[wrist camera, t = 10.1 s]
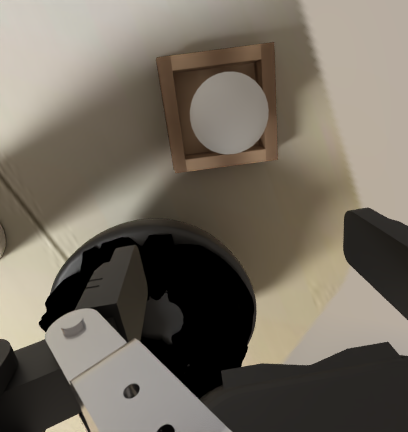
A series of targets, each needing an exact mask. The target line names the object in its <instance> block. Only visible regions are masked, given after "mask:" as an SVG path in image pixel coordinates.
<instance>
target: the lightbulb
mask: <svg viewBox="0 0 408 432" xmlns="http://www.w3.org/2000/svg"><path fill="white" fill-rule="evenodd" d="M268 112H269V109H268V102H267V99H266V96H265V94H264V92H263V90H262V89H261V87H260V86H259V85H258V84H257V83H256V81H254V80H253V79H252V78H250V77H249V76H247V75H245V74H242V73H239V72H222V73H219V74H216V75H214V76H212V77H210V78H208V79H207V80H206V81H205V82H203V83H202V84H201V86H200V87H199V88H198V89H197V91H196V93H195V94H194V96H193V99H192V102H191V107H190V121H191V126H192V129H193V131H194V133H195V136H196V137H197V138H198V140H199V141H200V142H201V143H202V144H203V145H204V146H205V147H206V148H208V149H210V150H211V151H214V152H216V153H220V154H236V153H240V152H243V151H245V150H247V149H249V148H250V147H251V146H253V145H254V144H255V143H256V142H257V141H258V140H259V139H260V137H261V136H262V134H263V132H264V130H265V128H266V125H267V121H268Z"/></svg>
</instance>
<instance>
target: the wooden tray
mask: <svg viewBox="0 0 408 432" xmlns="http://www.w3.org/2000/svg"><path fill="white" fill-rule="evenodd" d="M156 62H157V69H158V75H159V81H160V87H161V93H162V100H163V106H164V112H165V118H166V124H167V131H168V137H169V143H170V149H171V156H172V162H173V168H174V170H175V173H181V172H189V171H196V170H204V169H211V168H219V167H226V166H234V165H241V164H249V163H256V162H264V161H271V160H278V147H277V114H276V82H275V50H274V42H271V43H263V44H256V45H248V46H240V47H233V48H225V49H217V50H209V51H202V52H194V53H186V54H179V55H171V56H163V57H157V58H156ZM222 72H239V73H242V74H245V75H247V76H249V77H250V78H252V79H253V80H254V81H256V83H257V84H258V85H259V86H260V87H261V89H262V90H263V92H264V94H265V96H266V99H267V102H268V109H269V112H268V121H267V125H266V128H265V130H264V132H263V134H262V136H261V137H260V139H259V140H258V141H257V142H256V143H255V144H254V145H253V146H251V147H250V148H249V149H247V150H245V151H243V152H240V153H236V154H220V153H216V152H214V151H211V150H210V149H208V148H206V147H205V146H204V145H203V144H202V143H201V142H200V141H199V140H198V138H197V137H196V136H195V133H194V131H193V129H192V126H191V121H190V107H191V102H192V99H193V96H194V94H195V93H196V91H197V89H198V88H199V87H200V86H201V84H202V83H203V82H205V81H206V80H207V79H208V78H210V77H212V76H214V75H216V74H219V73H222Z"/></svg>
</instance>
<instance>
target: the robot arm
mask: <svg viewBox="0 0 408 432" xmlns="http://www.w3.org/2000/svg"><path fill="white" fill-rule="evenodd" d="M5 246H6V238H5V234H4V230H3V228H2V226H1V224H0V258H1V256H2V254H3V253H4V250H5ZM343 251H344V255H345V258H346V260H347V262H348V263H349V264H350V265H351V266H352V267H353V268H354V269H355V270H356V271H357V272H358V273H359V274H360V275H361V276H362V277H363V278H364V279H365V280H366V281H368V282H369V283H370V284H371V285H372V286H373V287H374V288H375V289H376V290H377V291H378V292H379V293H380V294H381V295H382V296H383V297H384V298H385V299H386V300H387V301H389V303H390V304H392V305H393V306H394V307H395V308H396V309H397V310H398V311H399V312H400V313H401V314H402V315H403V316H404V317H405V318H406V319H407V320H408V226H407V225H405V224H403V223H401V222H399V221H395V220H392V219H388V218H387V217H385V216H383V215H381V214H379V213H378V212H376V211H374V210H372V209H370V208H362V209H356V210H350V211H347V212H346V213H345V217H344V241H343ZM147 297H148V289H147V282H146V277H145V273H144V269H143V265H142V261H141V257H140V253H139V250H138V247H137V245H132V246H126V247H120V248H116V249H115V251H114V253H113V256H112V258H111V260H110V262H106V263H103V264H102V265H101V266H100V267H98V268H97V269H96V270H95V271H94V273H93V275H92V277H91V279H90V282H89V283H88V284H87V286H86V289H85V290H84V292H83V294H82V296H81V298H80V300H79V302H78V304H77V306H76V308H75V310H74V311H72V312H69V313H67V314H65V315H64V316H62V317H60V318H59V319H57V320H56V321H55V322H54V323H53V324H52V325H51V326H50V327H49V328H48V330H47V332H46V334H45V339H44V340H42V341H40V342H37V343H35V344H32V345H29V346H27V347H24V348H21V349H19V350H16V351H13V349H12V347H11V345H10V343H9V342H8V341H7V340H4V339H0V432H45V431H46V429H47V428H50V427H52V426H54V425H56V424H58V423H60V422H62V421H64V420H66V419H69V418H71V417H73V416H75V415H77V414H78V416H79V418H80V420H81V422H82V424H83V426H84V428H85V430H86V432H408V356H403V355H399V354H398V353H397V352H396V351H395V349H394V348H393V347H392V346H391V345H390V344H389V342H384V343H379V344H373V345H367V346H361V347H355V348H350V349H346V350H344V351H341V352H339V353H337V354H335V355H333V356H330V357H328V358H326V359H324V360H321V361H319V362H317V363H315V364H312V365H307V366H306V365H284V364H257V365H251V366H245V367H239V368H233V369H228V370H222V371H221V374H222V381H223V385H221V386H219V387H217V388H215V389H213V390H212V391H210V392H208V393H207V394H205V395H204V396H203V397H201V398H200V399H198V398H197V397H196V396H195V395H194V394H193V393H192V392H191V391H190V390H189V389H188V388H187V387H186V386H185V385H184V384H183V383H182V382H181V381H180V380H179V379H177V378H176V377H175V376H174V375H173V374H172V373H171V372H170V371H169V370H168V369H167V368H166V367H165V366H164V365H163V364H162V363H161V362H160V361H159V360H158V359H157V358H156V357H155V356H154V355H153V354H152V353H151V352H150V351H149V350H148V349H147V348H146V347H145V346H144V345H143V344H142V343H141V342H140V340H141V334H142V328H143V321H144V315H145V309H146V303H147Z"/></svg>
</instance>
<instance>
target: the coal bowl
mask: <svg viewBox="0 0 408 432" xmlns="http://www.w3.org/2000/svg"><path fill="white" fill-rule="evenodd" d="M132 245H137V247H138V250H139V253H140V257H141V261H142V265H143V269H144V273H145V277H146V282H147V289H148V297H147V303H146V309H145V315H144V321H143V328H142V334H141V340H140V342H141V343H142V344H143V345H144V346H145V347H146V348H147V349H148V350H149V351H150V352H151V353H152V354H153V355H154V356H155V357H156V358H157V359H158V360H159V361H160V362H161V363H162V364H163V365H164V366H165V367H166V368H167V369H168V370H169V371H170V372H171V373H172V374H173V375H174V376H175V377H176V378H177V379H179V380H180V381H181V382H182V383H183V384H184V385H185V386H186V387H187V388H188V389H189V390H190V391H191V392H192V393H193V394H194V395H195V396H196V397H197V398H198V399H200V398H201V397H203V396H204V395H205V394H207V393H208V392H210V391H212V390H213V389H215V388H217V387H219V386H221V385H223V381H222V374H221V371H222V370H228V369H233V368H239V367H241V366H242V361H243V360H244V358H245V355H246V352H247V349H248V346H247V345H248V343H249V341H250V339H251V337H252V334H253V331H254V327H255V322H256V299H255V294H254V290H253V287H252V285H251V282H250V280H249V278H248V276H247V274H246V272H245V270H244V268H243V267H242V265H241V264H240V263H239V261H238V260H237V258H236V257H235V256H234V255H233V254H232V252H231V251H230V250H229V249H228V248H227V247H226V246H224V245H223V244H222V243H221V242H220V241H219V240H217V239H216V238H215V237H213V236H212V235H210V234H209V233H207V232H205V231H203V230H201V229H199V228H197V227H195V226H192V225H190V224H187V223H184V222H180V221H175V220H170V219H159V218H158V219H141V220H135V221H130V222H126V223H123V224H119V225H117V226H114V227H112V228H109V229H107V230H105V231H103V232H101V233H100V234H98V235H96V236H95V237H93V238H92V239H90V240H89V241H87V242H86V243H85V244H83V245H82V246H81V247H80V248H79V249H78V250H76V251H75V253H74V254H73V255H72V256H71V257H70V258H69V259H68V260H67V261H66V262H65V264H64V265H63V266H62V268H61V269H60V271H59V273H58V274H57V276H56V278H55V281H54V283H53V286H52V289H51V293H50V296H49V297H48V298H47V300H46V302H45V306H46V309H47V312H46V313H45V314H44V315H43V316H42V317H41V318H42V320H41V321H40V322H39V325H40V327H41V328H42V329H43V330H44V331H45V332H47V330H48V328H49V327H50V326H51V325H52V324H53V323H54V322H55V321H56V320H57V319H59V318H60V317H62V316H64V315H65V314H67V313H69V312H72V311H74V310H75V308H76V306H77V304H78V302H79V300H80V298H81V296H82V294H83V292H84V290H85V289H86V286H87V284H88V283H89V282H90V279H91V277H92V275H93V273H94V271H95V270H96V269H97V268H98V267H100V266H101V265H102V264H103V263H106V262H110V260H111V258H112V256H113V253H114V251H115V249H116V248H120V247H126V246H132Z"/></svg>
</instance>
